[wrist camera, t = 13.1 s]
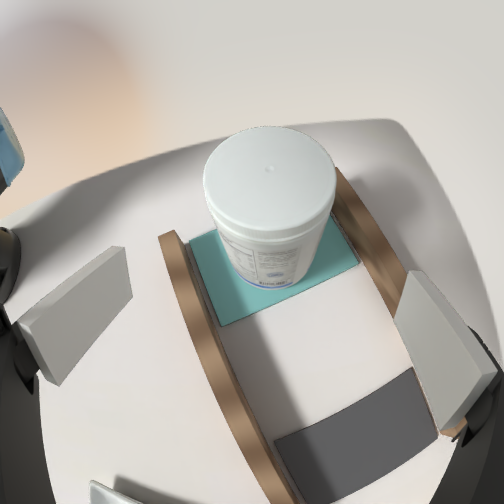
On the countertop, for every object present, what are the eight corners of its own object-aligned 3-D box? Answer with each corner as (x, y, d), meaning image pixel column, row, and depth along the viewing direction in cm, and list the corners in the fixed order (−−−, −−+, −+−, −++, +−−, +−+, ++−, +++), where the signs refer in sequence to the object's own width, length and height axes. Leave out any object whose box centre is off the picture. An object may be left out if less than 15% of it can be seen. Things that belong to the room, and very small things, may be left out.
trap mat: (274, 441, 24) (274, 442, 23) (409, 368, 25) (411, 368, 25) (311, 509, 20) (311, 511, 19) (436, 437, 21) (437, 438, 21)
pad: (189, 242, 33) (188, 240, 33) (313, 192, 35) (314, 190, 34) (222, 326, 29) (221, 326, 29) (357, 264, 31) (358, 263, 30)
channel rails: (169, 250, 33) (157, 236, 29) (331, 185, 35) (336, 166, 31) (288, 517, 19) (290, 534, 16) (452, 424, 22) (470, 428, 18)
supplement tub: (271, 202, 34) (270, 107, 21) (329, 252, 31) (366, 170, 18) (212, 252, 32) (173, 171, 18) (269, 311, 29) (270, 262, 15)
